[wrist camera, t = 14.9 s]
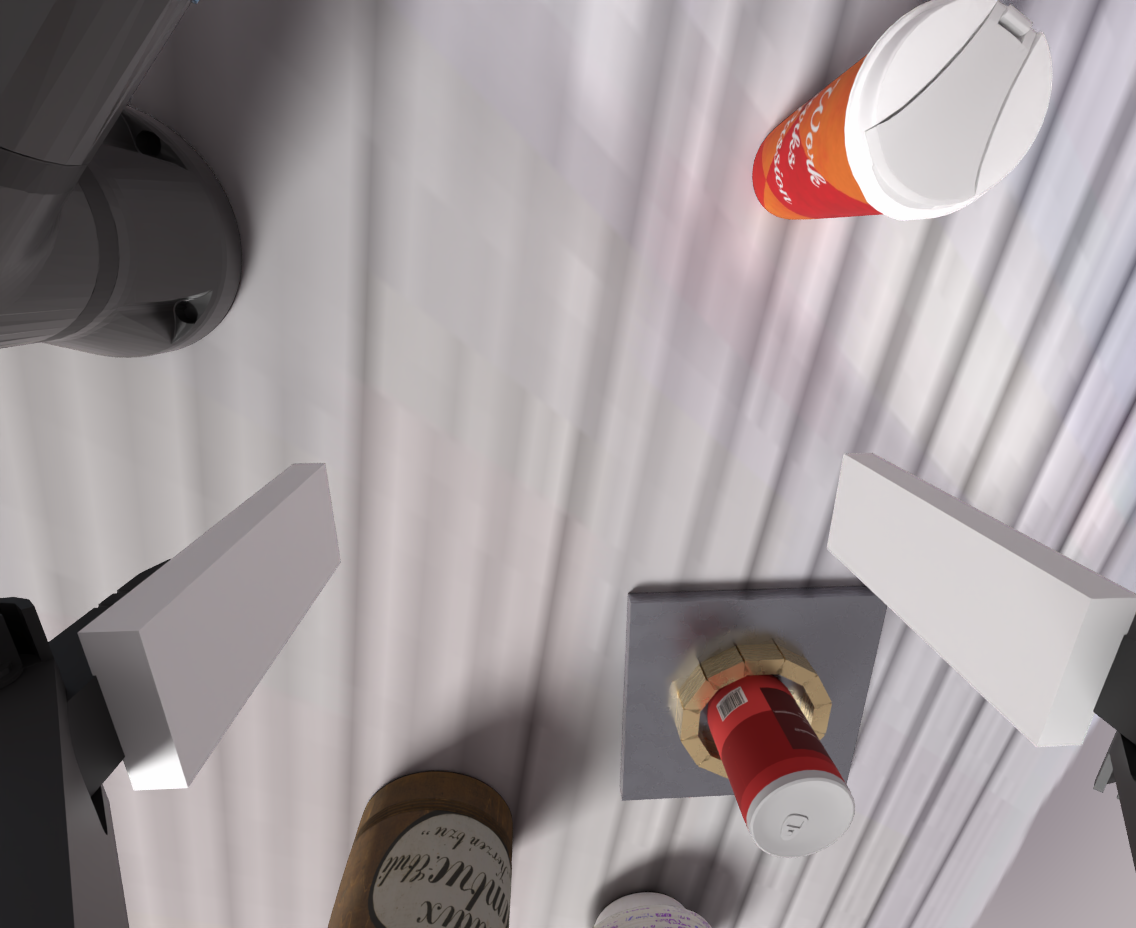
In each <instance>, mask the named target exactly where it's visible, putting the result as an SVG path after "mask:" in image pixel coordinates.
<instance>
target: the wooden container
mask: <svg viewBox="0 0 1136 928" xmlns="http://www.w3.org/2000/svg"><path fill="white" fill-rule="evenodd" d="M512 837H513V823H512V816H511V813H510V810H509V808H508V806H507V804H506V803H505V801H504V800H503V799H502V797H501V796H500V795H499V794H498V793H497V792H496V791H495V790H493V789H492V788H491V787H489V786H488V785H486V784H484V783H483V782H481V781H479V780H477V779H474V778H472V777H469V776H466V775H462V774H457V773H452V772H440V771H436V772H435V771H432V772H422V773H416V774H411V775H408V776H404V777H402V778H399V779H397V780H395V781H393V782H391V783H389V784H387V785H386V786H385V787H383V788H382V789H381V790H379V791H378V792H377V793H376V794H375V795H374V796H373V797H372V798H371V800H370V801H369V802H368V804H367V806H366V808H365V810H364V813H363V815H362V818H361V821H360V824H359V827H358V830H357V834H356V837H355V840H354V843H353V846H352V849H351V852H350V855H349V858H348V861H347V864H346V868H345V871H344V874H343V877H342V880H341V884H340V887H339V890H338V894H337V897H336V900H335V904H334V907H333V910H332V914H331V918H330V921H329V925H328V928H509V915H510V897H511V876H512V862H511V861H512Z"/></svg>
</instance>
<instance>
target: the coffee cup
mask: <svg viewBox="0 0 1136 928" xmlns="http://www.w3.org/2000/svg"><path fill="white" fill-rule="evenodd" d="M1032 24H1033V23H1032V22H1031V21H1030V20H1029V19H1028V18H1027V17H1025V16H1024V15H1023V14H1022V13H1021V12H1019V11H1018V10H1017V9H1016V8H1015V7H1013V6H1012V5H1011V4H1010V5H1009V6H1008V7H1007V6H1006V5H1004V4H1002V3H1000V2H999V1H998V0H931V1H928V2H926V3H924V4H921V5H919V6H917V7H916V8H914V9H913V10H911V11H910V12H908V13H906V14H905V15H903V16H902V17H901V18H900V19H898V20H897V21H896V22H895V23H894V24H893V25H891V26H890V27H889V28H888V29H887V30H886V31H885V33H884V34H883V35H882V36H881V37H880V38H879V39H878V40H877V42H876V43H875V44H874V46H873V47H872V49H871V50H870V52H869V53H868V54H867V55H866V56H865V57H863V58H862V59H861V60H860V61H858V62H857V63H856V64H854V65H853V66H852V67H851V68H849V69H848V70H847V71H846V72H844V73H843V74H842V75H840V76H839V77H838V78H837V79H835V80H834V81H833V82H832V83H830V84H829V85H828V86H826V87H825V88H824V89H823V90H821V91H820V92H819V93H818V94H816V95H815V96H814V97H813V98H811V99H810V100H809V101H808V102H806V103H805V104H804V105H803V106H801V107H800V108H799V109H798V110H796V111H795V112H794V113H793V114H791V115H790V116H789V117H788V118H786V119H785V120H784V121H783V122H782V123H781V124H779V125H778V126H777V127H776V128H775V129H774V130H773V131H772V132H771V133H770V134H769V135H768V136H767V137H766V139H765V140H764V141H763V143H762V144H761V146H760V148H759V150H758V152H757V154H756V157H755V160H754V165H753V172H752V179H753V187H754V191H755V194H756V196H757V198H758V200H759V202H760V203H761V205H762V206H763V207H764V208H765V209H766V210H767V211H768V212H770V213H771V214H773V215H775V216H777V217H780V218H784V219H794V220H796V219H821V218H836V217H851V216H865V215H879V214H884V215H886V216H888V217H891V218H894V219H897V220H900V221H907V220H916V219H931V218H936V217H940V216H944V215H948V214H950V213H953V212H955V211H958V210H960V209H962V208H964V207H965V206H967V205H969V204H970V203H972V202H974V201H975V200H977V199H978V198H979V197H980V196H982V195H983V194H984V193H986V192H987V191H988V190H989V189H991V188H992V187H993V186H995V185H996V184H997V183H998V182H1000V181H1001V180H1002V179H1004V178H1005V177H1006V176H1007V175H1008V174H1009V173H1010V172H1011V171H1012V170H1013V169H1014V168H1015V167H1016V166H1017V164H1018V163H1019V162H1020V161H1021V159H1022V158H1023V157H1024V156H1025V154H1026V153H1027V152H1028V150H1029V148H1030V147H1031V145H1032V143H1033V142H1034V140H1035V139H1036V137H1037V134H1038V132H1039V130H1040V128H1041V126H1042V124H1043V121H1044V118H1045V115H1046V112H1047V109H1048V105H1049V100H1050V95H1051V89H1052V60H1051V55H1050V51H1049V46H1048V43H1047V40H1046V38H1045V36H1044V33H1042V32H1039V33H1036V31H1034V30H1033V29H1032V28H1031V26H1032Z"/></svg>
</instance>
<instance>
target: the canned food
mask: <svg viewBox="0 0 1136 928" xmlns="http://www.w3.org/2000/svg"><path fill="white" fill-rule="evenodd" d="M707 718H708V725H709V728H710V731H711V734H712V736H713V739H714V741H715V744H716V747H717V749H718V752H719V755H720V757H721V760H722V763H723V765H724V768H725V771H726V773H727V776H728V779H729V781H730V784H731V787H732V789H733V792H734V795H735V797H736V800H737V803H738V805H739V808H740V811H741V813H742V816H743V819H744V821H745V823H746V826H747V828H748V831H749V833H750V834H751V836H752V839H753V841H754V842H755V844H756V845H757V846H758V847H759V848H760V849H761V850H763V851H764V852H766V853H768V854H770V855H774V856H777V857H785V858H795V857H802V856H808V855H811V854H814V853H817V852H819V851H821V850H823V849H825V848H827V847H829V846H830V845H832V844H833V843H835V842H836V841H837V840H838V839H839V838H840V837H841V836H842V835H843V834H844V833H845V832H846V831H847V829H848V828H849V826H850V824H851V822H852V820H853V817H854V814H855V803H854V798H853V797H852V795H851V792H850V790H849V788H848V786H847V785H846V783H845V781H844V780H843V778H842V776H841V774H840V773H839V771H838V769H837V767H836V766H835V764H834V763H833V761H832V759H831V758H830V756H829V754H828V753H827V751H826V750H825V748H824V746H823V745H822V743H821V741H820V740H819V738H818V737H817V735H816V733H815V732H814V730H813V728H812V727H811V725H810V724H809V722H808V720H807V719H806V717H805V715H804V714H803V712H802V711H801V709H800V707H799V706H798V704H797V702H796V701H795V699H794V698H793V696H792V694H791V693H790V691H789V689H788V688H787V687H786V686H785V685H784V684H783V683H782V682H781V681H780V680H778V679H777V678H776V677H774V676H772V675H771V674H770V675H747V676H745V677H743V678H741V679H739V680H737V681H735V682H732V683H730V684H728V685H726V686H724V687H722V688H720V689H718V690H717V692H716V693H715V694H714V695H713V697H712V698H711V699H710V700H709V702H708V708H707Z"/></svg>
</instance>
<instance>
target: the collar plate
mask: <svg viewBox="0 0 1136 928" xmlns="http://www.w3.org/2000/svg"><path fill="white" fill-rule="evenodd" d="M886 609H887V605H886V604H885V603H884V602H883V601H882V600H881V599H880V598H879V597H877V596H876V595H875V594H874V593H873V592H872V591H871V590H870V589H869V588H868V587H867V586H853V587H821V588H789V589H757V590H726V591H694V592H662V593H630V594H628V606H627V630H626V654H625V677H624V701H623V725H622V749H621V772H620V790H621V796H622V801H623V800H643V799H662V798H682V797H701V796H721V795H734V792H733V789H732V787H731V784H730V781H729V779H728V776H727V773H726V771H725V768H724V765H723V763H722V760H721V757H720V755H719V752H718V749H717V747H716V744H715V741H714V739H713V736H712V734H711V731H710V728H709V725H708V718H707V708H708V702H709V700H710V699H711V698H712V697H713V695H714V694H715V693H716V692H717V690H718V689H720V688H722V687H724V686H726V685H728V684H730V683H732V682H735V681H737V680H739V679H741V678H743V677H745V676H747V675H770V674H771V675H772V676H774V677H776V678H777V679H778V680H780V681H781V682H782V683H783V684H784V685H785V686H786V687H787V688H788V689H789V691H790V693H791V694H792V696H793V698H794V699H795V701H796V702H797V704H798V706H799V707H800V709H801V711H802V712H803V714H804V715H805V717H806V719H807V720H808V722H809V724H810V725H811V727H812V728H813V730H814V732H815V733H816V735H817V737H818V738H819V740H820V741H821V743H822V745H823V746H824V748H825V750H826V751H827V753H828V754H829V756H830V758H831V759H832V761H833V763H834V764H835V766H836V767H837V769H838V771H839V773H840V774H841V776H842V778H843V780H844V781H845V783H846V784H847V780H848V775H849V771H850V767H851V762H852V758H853V753H854V749H855V745H856V740H857V736H858V731H859V727H860V723H861V718H862V714H863V710H864V705H865V701H866V696H867V692H868V688H869V683H870V679H871V675H872V670H873V666H874V661H875V657H876V653H877V648H878V644H879V639H880V635H881V631H882V626H883V622H884V618H885V613H886Z"/></svg>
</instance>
